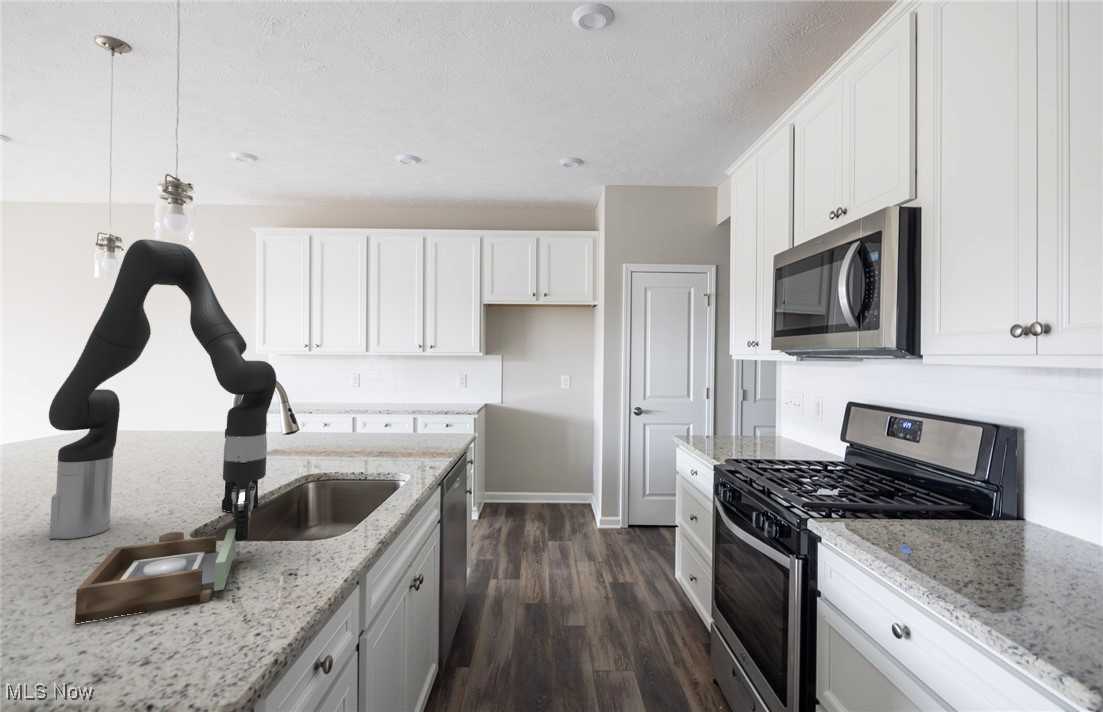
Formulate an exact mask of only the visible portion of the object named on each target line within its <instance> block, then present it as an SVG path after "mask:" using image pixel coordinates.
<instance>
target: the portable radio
mask: <svg viewBox="0 0 1103 712" xmlns="http://www.w3.org/2000/svg"><path fill="white" fill-rule="evenodd" d="M226 429H227V428H224V439H225V440H226ZM254 485H256V490H255V495H254V502H253V508H252V509H254V508H257V507H258V505H259V480H256V481H255V480H253V481H252V486H254ZM236 486H237V484H236V483H235V482H226V481H224V495H223V496H224V497H223V499H222V500H221V511H222V510H225V511H230V512H232V513H233V500H232V490H233V487H236ZM230 512H229V513H230ZM232 513H231V514H232ZM233 514H234V513H233Z"/></svg>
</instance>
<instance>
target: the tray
mask: <svg viewBox="0 0 1103 712" xmlns="http://www.w3.org/2000/svg"><path fill="white" fill-rule="evenodd" d="M235 532H236V527H235V528H228V529H227V531H226V534H225V535H224V536H225V537H224V540H223V541H222V544H221V548H220V549H219V551H216V552H215V553H208V554H205V552H197V553H190V554H182V555H175V556H167V557H159V558H152V559H144V560H136V561H134V562H133V564H132V565H131V566H130V567H129V569H128V570H127V571H126V573H125V574H124V575H123V576H122V578H121V579H120V580H124V579H130V578H137V577H143V570H144V567H145V566H146V565H148V564H150V563H152V562H155V561H158V560H162V559H168V558H184V559H186V570H193V569H200V568H203V571H202V590H203V589H209V588H214V589H213V592H217V591H222V590H225V586H226V583H227V579H228V576H229V573H230V571H231V566H232V564H233V560H234V556H235V553H236V547H237V546H236V545H237V543H236V542H237V541H236V540H235ZM186 570H185V571H186Z"/></svg>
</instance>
